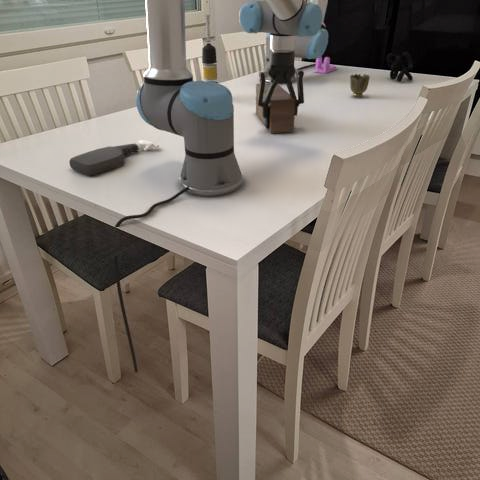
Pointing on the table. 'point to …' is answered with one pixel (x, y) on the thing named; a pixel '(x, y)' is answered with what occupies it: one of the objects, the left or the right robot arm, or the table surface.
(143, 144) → the spray bottle
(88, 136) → the table surface
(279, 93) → the box
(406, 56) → the squiggle
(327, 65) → the bracket
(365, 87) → the cup
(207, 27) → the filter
